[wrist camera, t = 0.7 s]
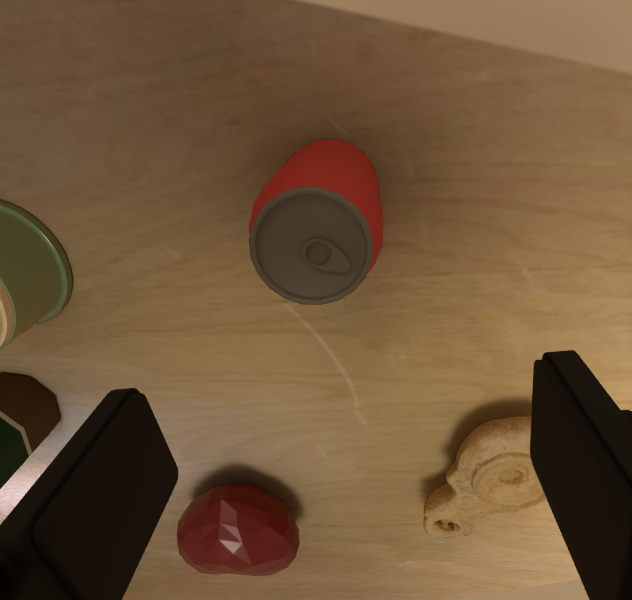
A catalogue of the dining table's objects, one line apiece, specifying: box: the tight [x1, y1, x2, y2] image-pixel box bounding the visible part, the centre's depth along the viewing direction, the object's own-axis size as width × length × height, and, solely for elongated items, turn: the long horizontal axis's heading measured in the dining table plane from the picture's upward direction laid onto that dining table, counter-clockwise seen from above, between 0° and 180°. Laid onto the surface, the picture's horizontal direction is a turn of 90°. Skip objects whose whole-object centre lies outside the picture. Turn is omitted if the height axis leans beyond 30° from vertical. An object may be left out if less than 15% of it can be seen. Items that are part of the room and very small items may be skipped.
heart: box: [177, 483, 299, 576], centre depth 42 cm, size 12×8×10 cm
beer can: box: [249, 140, 383, 305], centre depth 24 cm, size 7×7×12 cm
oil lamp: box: [424, 416, 546, 538], centre depth 37 cm, size 11×14×5 cm
